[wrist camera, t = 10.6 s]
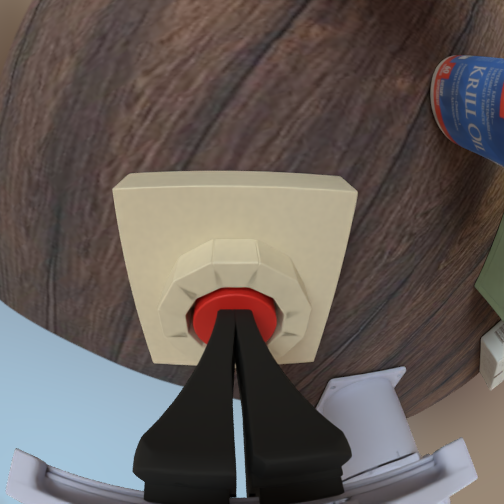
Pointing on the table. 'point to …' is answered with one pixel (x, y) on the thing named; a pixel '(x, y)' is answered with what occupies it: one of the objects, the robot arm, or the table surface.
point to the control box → (233, 251)
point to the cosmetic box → (493, 356)
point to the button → (234, 300)
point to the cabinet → (494, 274)
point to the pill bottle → (471, 103)
